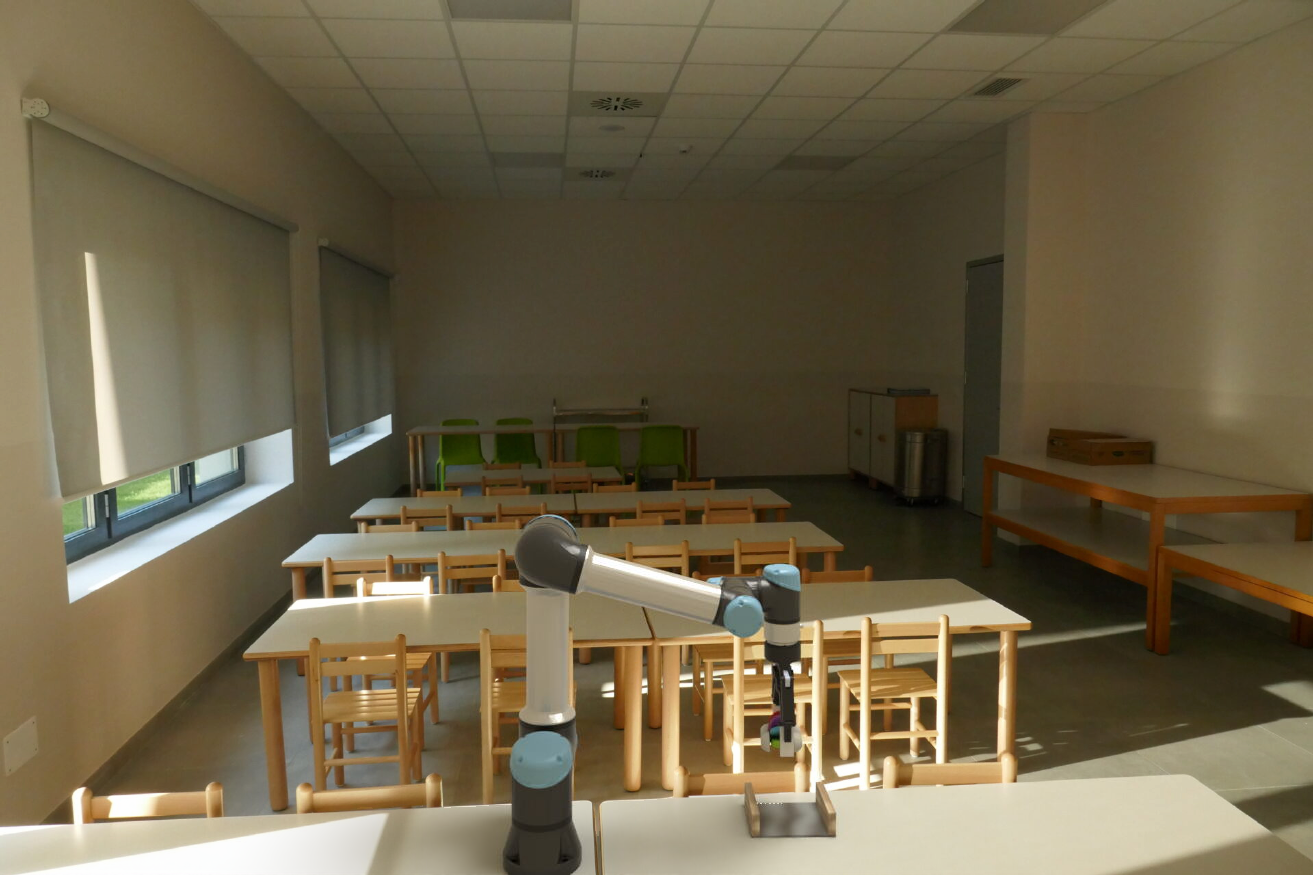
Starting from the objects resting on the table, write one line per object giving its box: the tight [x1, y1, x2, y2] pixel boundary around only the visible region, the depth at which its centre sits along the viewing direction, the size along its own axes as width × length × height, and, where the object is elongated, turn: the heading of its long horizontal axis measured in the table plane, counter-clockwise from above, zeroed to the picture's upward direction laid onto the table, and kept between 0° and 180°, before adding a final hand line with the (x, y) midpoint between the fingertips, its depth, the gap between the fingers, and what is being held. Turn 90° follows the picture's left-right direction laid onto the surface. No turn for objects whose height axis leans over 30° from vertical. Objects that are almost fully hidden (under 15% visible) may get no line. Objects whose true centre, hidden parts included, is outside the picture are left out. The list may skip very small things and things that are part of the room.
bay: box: [743, 781, 837, 838], centre depth 196 cm, size 17×14×5 cm
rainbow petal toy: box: [760, 711, 803, 753], centre depth 194 cm, size 8×10×7 cm
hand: (783, 745), depth 194 cm, fingers closed on rainbow petal toy, 10 cm apart
